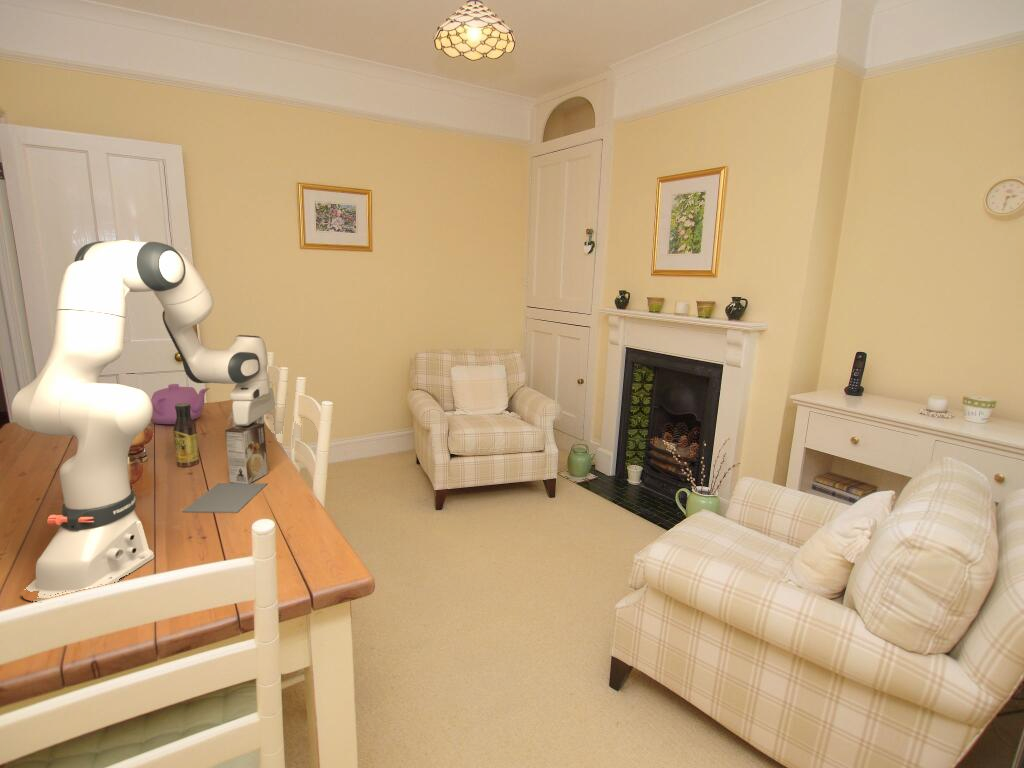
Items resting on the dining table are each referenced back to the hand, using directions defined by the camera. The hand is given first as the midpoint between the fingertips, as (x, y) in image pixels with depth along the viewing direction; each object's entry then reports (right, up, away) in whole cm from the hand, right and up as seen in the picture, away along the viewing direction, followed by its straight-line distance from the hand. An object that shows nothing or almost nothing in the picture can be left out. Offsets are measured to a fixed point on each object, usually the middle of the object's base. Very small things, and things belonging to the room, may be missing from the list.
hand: (258, 431), depth 162 cm
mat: (0, -17, -18) cm, 24 cm away
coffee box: (0, -14, -5) cm, 15 cm away
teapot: (-56, 0, +49) cm, 75 cm away
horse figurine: (-18, -6, +28) cm, 34 cm away
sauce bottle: (-24, -11, +5) cm, 27 cm away
